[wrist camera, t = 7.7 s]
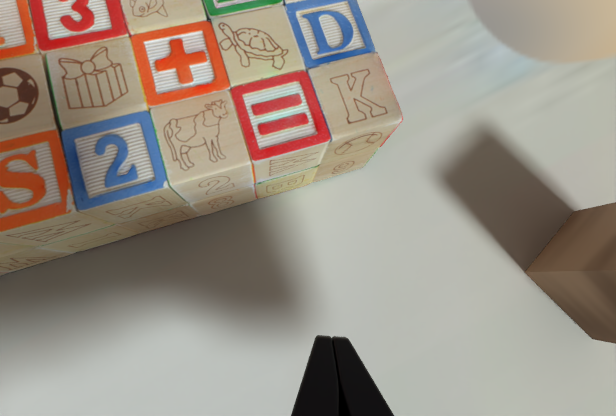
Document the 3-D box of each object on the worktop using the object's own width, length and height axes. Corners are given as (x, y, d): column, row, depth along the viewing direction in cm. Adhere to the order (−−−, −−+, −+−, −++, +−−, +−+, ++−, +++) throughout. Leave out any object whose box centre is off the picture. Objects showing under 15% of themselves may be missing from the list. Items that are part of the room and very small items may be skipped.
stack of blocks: (-263, 311, 10) (-290, -45, 12) (-61, 299, 16) (-100, 64, 18) (409, 117, 13) (305, -135, 15) (365, 167, 20) (295, -17, 21)
